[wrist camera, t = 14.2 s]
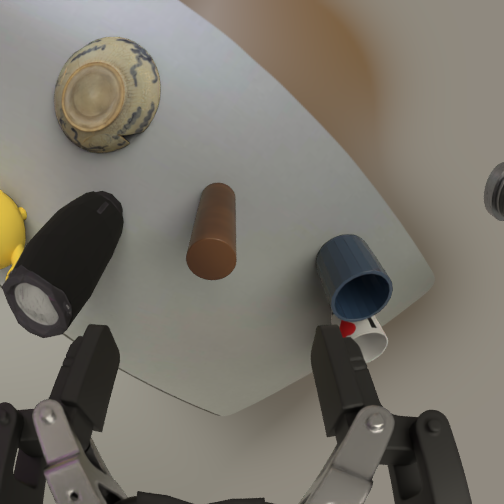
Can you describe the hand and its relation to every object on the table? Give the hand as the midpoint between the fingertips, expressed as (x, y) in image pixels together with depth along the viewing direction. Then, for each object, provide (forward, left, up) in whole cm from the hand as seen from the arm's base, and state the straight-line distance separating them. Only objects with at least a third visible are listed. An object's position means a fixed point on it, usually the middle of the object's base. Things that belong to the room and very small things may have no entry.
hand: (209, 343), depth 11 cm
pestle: (+3, +5, -28) cm, 29 cm away
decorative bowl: (+10, -14, -29) cm, 34 cm away
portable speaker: (+19, 0, -29) cm, 35 cm away
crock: (-10, +21, -28) cm, 37 cm away
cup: (-8, +31, -29) cm, 43 cm away
